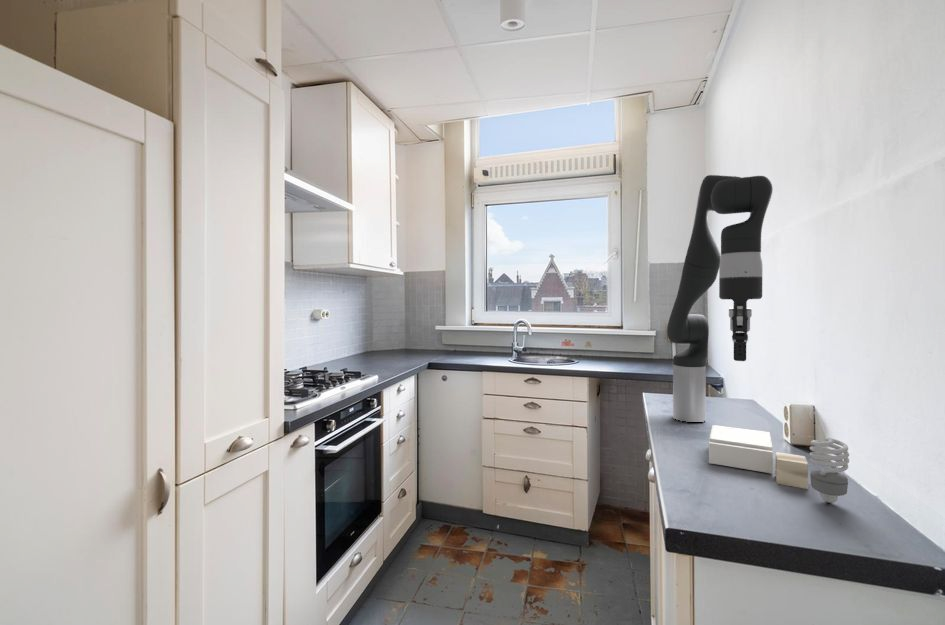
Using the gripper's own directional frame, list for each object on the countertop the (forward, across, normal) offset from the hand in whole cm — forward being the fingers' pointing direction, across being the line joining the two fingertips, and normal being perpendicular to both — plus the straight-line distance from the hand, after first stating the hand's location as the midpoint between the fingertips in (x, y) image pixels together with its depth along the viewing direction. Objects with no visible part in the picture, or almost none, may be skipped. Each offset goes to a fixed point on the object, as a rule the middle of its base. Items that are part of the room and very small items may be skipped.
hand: (739, 360), depth 89 cm
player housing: (+25, +16, 0) cm, 29 cm away
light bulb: (+25, -3, -14) cm, 29 cm away
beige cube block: (+25, +5, -9) cm, 27 cm away
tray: (+25, +14, 0) cm, 28 cm away
